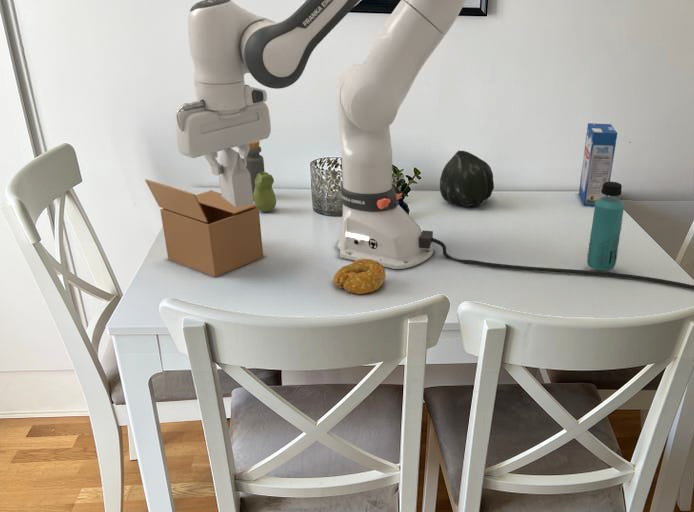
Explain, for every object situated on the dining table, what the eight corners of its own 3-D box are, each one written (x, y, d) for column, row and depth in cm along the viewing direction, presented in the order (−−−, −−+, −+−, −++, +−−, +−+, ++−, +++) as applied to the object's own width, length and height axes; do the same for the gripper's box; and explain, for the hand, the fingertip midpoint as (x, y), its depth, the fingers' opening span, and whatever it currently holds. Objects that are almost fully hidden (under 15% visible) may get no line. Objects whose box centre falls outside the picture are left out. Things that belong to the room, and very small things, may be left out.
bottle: (261, 201, 197) (256, 144, 190) (240, 199, 198) (234, 142, 191) (270, 194, 202) (265, 138, 195) (249, 192, 203) (244, 136, 196)
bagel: (336, 274, 160) (336, 253, 157) (388, 277, 160) (388, 256, 157) (329, 294, 151) (328, 272, 149) (383, 297, 151) (383, 275, 149)
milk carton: (606, 207, 205) (617, 133, 194) (583, 206, 205) (593, 132, 194) (600, 195, 213) (610, 124, 203) (578, 194, 213) (588, 123, 203)
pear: (267, 206, 195) (264, 168, 190) (281, 210, 192) (278, 172, 187) (250, 211, 191) (246, 172, 186) (265, 216, 188) (261, 177, 183)
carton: (263, 256, 166) (258, 204, 160) (215, 277, 156) (207, 222, 150) (217, 241, 173) (210, 190, 167) (168, 259, 163) (159, 206, 157)
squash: (507, 178, 205) (474, 134, 201) (498, 197, 193) (462, 150, 188) (468, 207, 212) (435, 164, 208) (457, 226, 200) (421, 182, 195)
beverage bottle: (608, 279, 163) (622, 190, 153) (580, 272, 166) (592, 183, 156) (618, 269, 168) (633, 182, 158) (591, 262, 171) (604, 176, 160)
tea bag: (235, 207, 143) (228, 155, 137) (221, 196, 147) (214, 146, 142) (253, 203, 145) (247, 152, 139) (239, 192, 149) (232, 142, 144)
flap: (194, 194, 145) (193, 194, 145) (208, 221, 150) (207, 222, 150) (145, 178, 152) (144, 179, 152) (160, 206, 157) (159, 206, 156)
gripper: (187, 108, 128) (198, 186, 135) (273, 90, 143) (278, 162, 150) (163, 102, 131) (175, 180, 138) (249, 86, 146) (256, 156, 153)
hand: (229, 170), depth 144 cm, fingers closed on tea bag, 4 cm apart
